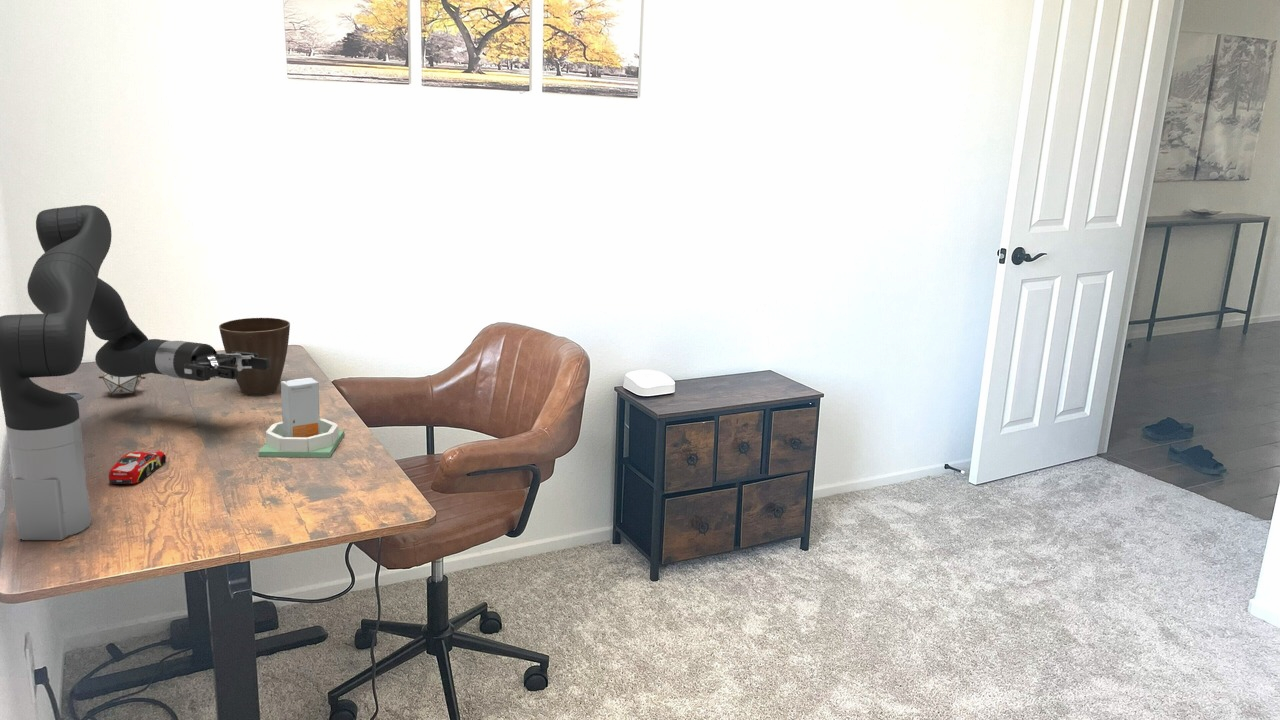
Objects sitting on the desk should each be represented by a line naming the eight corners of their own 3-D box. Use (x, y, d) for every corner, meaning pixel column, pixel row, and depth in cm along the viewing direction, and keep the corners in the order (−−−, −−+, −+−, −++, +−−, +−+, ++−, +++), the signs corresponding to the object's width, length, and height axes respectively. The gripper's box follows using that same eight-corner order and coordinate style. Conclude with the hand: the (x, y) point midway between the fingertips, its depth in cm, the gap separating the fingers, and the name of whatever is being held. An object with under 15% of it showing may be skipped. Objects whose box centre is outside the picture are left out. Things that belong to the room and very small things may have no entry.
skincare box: (290, 446, 175) (287, 386, 172) (282, 439, 178) (279, 380, 175) (321, 440, 179) (319, 381, 176) (313, 434, 182) (311, 376, 179)
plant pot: (251, 405, 201) (246, 334, 198) (209, 392, 209) (204, 324, 205) (307, 390, 214) (304, 324, 210) (266, 379, 221) (262, 314, 217)
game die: (128, 412, 204) (119, 386, 197) (95, 396, 205) (85, 368, 197) (157, 385, 210) (149, 358, 202) (125, 369, 211) (116, 342, 203)
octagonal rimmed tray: (329, 457, 173) (329, 439, 172) (258, 456, 172) (257, 439, 171) (344, 434, 186) (343, 418, 185) (278, 434, 184) (277, 417, 183)
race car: (141, 460, 168) (139, 439, 167) (171, 461, 168) (169, 441, 167) (102, 487, 155) (100, 465, 154) (135, 488, 156) (133, 466, 155)
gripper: (156, 348, 176) (224, 357, 171) (212, 335, 189) (276, 343, 184) (159, 386, 177) (227, 396, 172) (214, 371, 190) (278, 379, 186)
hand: (252, 369), depth 178 cm, fingers open, 8 cm apart
